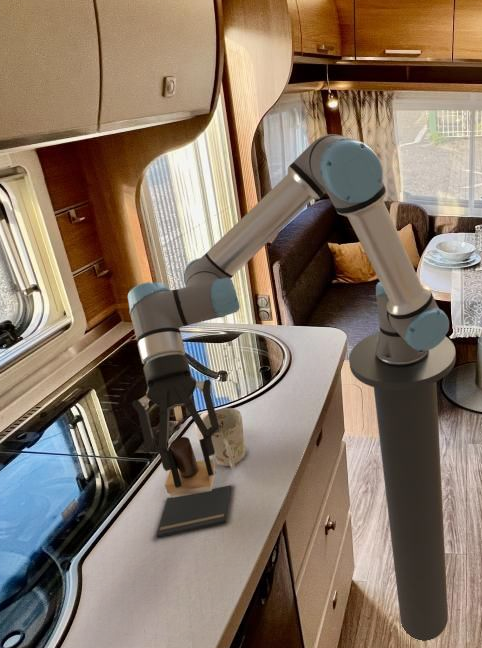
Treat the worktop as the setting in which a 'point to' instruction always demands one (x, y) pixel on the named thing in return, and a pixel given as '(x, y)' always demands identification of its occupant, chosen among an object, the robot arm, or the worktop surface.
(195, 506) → the counter mat
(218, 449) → the mug
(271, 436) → the worktop surface
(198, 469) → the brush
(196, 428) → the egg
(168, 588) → the worktop surface
